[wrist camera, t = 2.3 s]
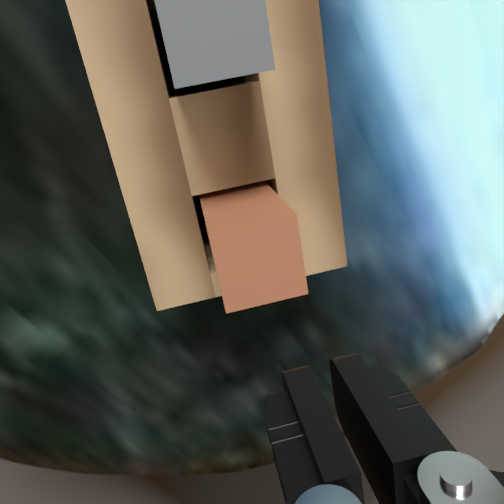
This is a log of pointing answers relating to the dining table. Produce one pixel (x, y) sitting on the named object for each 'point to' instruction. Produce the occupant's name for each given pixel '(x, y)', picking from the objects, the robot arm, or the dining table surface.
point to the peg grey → (215, 39)
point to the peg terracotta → (254, 246)
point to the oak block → (212, 139)
